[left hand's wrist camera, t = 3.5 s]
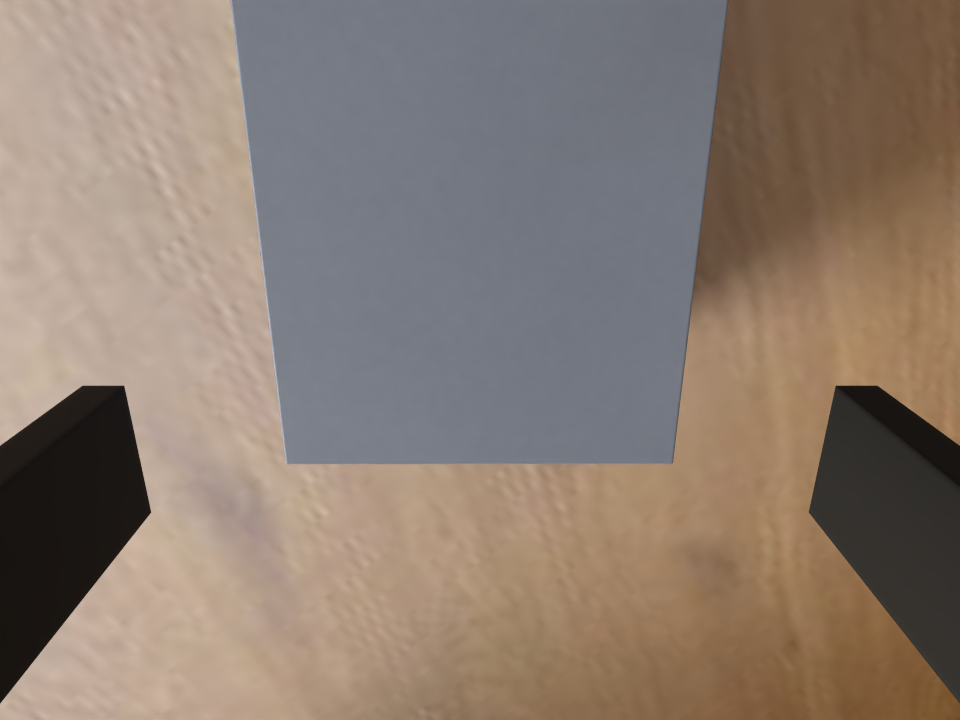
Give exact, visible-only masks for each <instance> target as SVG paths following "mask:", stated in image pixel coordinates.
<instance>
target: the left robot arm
mask: <svg viewBox="0 0 960 720" xmlns="http://www.w3.org/2000/svg"><path fill="white" fill-rule="evenodd" d="M150 513H151V510H150V505H149V500H148V496H147V491H146V486H145V481H144V477H143V472H142V467H141V463H140V458H139V453H138V449H137V444H136V439H135V434H134V430H133V425H132V420H131V416H130V411H129V406H128V402H127V397H126V392H125V388H124V386H82V387H80V388H79V389H78V390H76V391H75V392H73V393H72V394H71V395H69V396H68V397H67V398H65V399H64V400H62V401H61V402H60V403H58V404H57V405H56V406H54V407H53V408H52V409H50V410H49V411H47V412H46V413H45V414H43V415H42V416H41V417H39V418H38V419H36V420H35V421H34V422H32V423H31V424H30V425H28V426H27V427H25V428H24V429H23V430H21V431H20V432H19V433H17V434H16V435H15V436H13V437H12V438H10V439H9V440H8V441H6V442H5V443H4V444H2V445H1V446H0V703H1V702H2V701H3V699H4V698H5V697H6V695H7V694H8V693H9V692H10V690H11V689H12V688H13V687H14V685H15V684H16V683H17V682H18V680H19V679H20V678H21V676H22V675H23V674H24V673H25V671H26V670H27V669H28V668H29V666H30V665H31V664H32V663H33V661H34V660H35V659H36V658H37V656H38V655H39V654H40V652H41V651H42V650H43V649H44V647H45V646H46V645H47V644H48V642H49V641H50V640H51V639H52V637H53V636H54V635H55V633H56V632H57V631H58V630H59V628H60V627H61V626H62V625H63V623H64V622H65V621H66V620H67V618H68V617H69V616H70V614H71V613H72V612H73V611H74V609H75V608H76V607H77V606H78V604H79V603H80V602H81V601H82V599H83V598H84V597H85V595H86V594H87V593H88V592H89V590H90V589H91V588H92V587H93V585H94V584H95V583H96V582H97V580H98V579H99V578H100V576H101V575H102V574H103V573H104V571H105V570H106V569H107V568H108V566H109V565H110V564H111V563H112V561H113V560H114V559H115V557H116V556H117V555H118V554H119V552H120V551H121V550H122V549H123V547H124V546H125V545H126V544H127V542H128V541H129V540H130V538H131V537H132V536H133V535H134V533H135V532H136V531H137V530H138V528H139V527H140V526H141V525H142V523H143V522H144V521H145V519H146V518H147V517H148V516H149V514H150ZM809 513H810V514H811V516H812V517H813V518H814V519H815V521H816V522H817V523H818V525H819V526H820V527H821V528H822V530H823V531H824V532H825V533H826V535H827V536H828V537H829V538H830V540H831V541H832V542H833V544H834V545H835V546H836V547H837V549H838V550H839V551H840V552H841V554H842V555H843V556H844V557H845V559H846V560H847V561H848V563H849V564H850V565H851V566H852V568H853V569H854V570H855V571H856V573H857V574H858V575H859V576H860V578H861V579H862V580H863V582H864V583H865V584H866V585H867V587H868V588H869V589H870V590H871V592H872V593H873V594H874V595H875V597H876V598H877V599H878V601H879V602H880V603H881V604H882V606H883V607H884V608H885V609H886V611H887V612H888V613H889V614H890V616H891V617H892V618H893V620H894V621H895V622H896V623H897V625H898V626H899V627H900V628H901V630H902V631H903V632H904V633H905V635H906V636H907V637H908V639H909V640H910V641H911V642H912V644H913V645H914V646H915V647H916V649H917V650H918V651H919V652H920V654H921V655H922V656H923V658H924V659H925V660H926V661H927V663H928V664H929V665H930V666H931V668H932V669H933V670H934V671H935V673H936V674H937V675H938V676H939V678H940V679H941V680H942V682H943V683H944V684H945V685H946V687H947V688H948V689H949V690H950V692H951V693H952V694H953V695H954V697H955V698H956V699H957V701H958V702H959V703H960V446H959V445H958V444H956V443H955V442H954V441H952V440H951V439H950V438H948V437H947V436H945V435H944V434H943V433H941V432H940V431H939V430H937V429H936V428H935V427H933V426H932V425H930V424H929V423H928V422H926V421H925V420H924V419H922V418H921V417H919V416H918V415H917V414H915V413H914V412H913V411H911V410H910V409H908V408H907V407H906V406H904V405H903V404H902V403H900V402H899V401H898V400H896V399H895V398H893V397H892V396H891V395H889V394H888V393H887V392H885V391H884V390H882V389H881V388H880V387H878V386H836V388H835V392H834V397H833V402H832V406H831V411H830V416H829V420H828V425H827V430H826V434H825V439H824V444H823V449H822V453H821V458H820V463H819V467H818V472H817V477H816V481H815V486H814V491H813V496H812V500H811V505H810V510H809Z"/></svg>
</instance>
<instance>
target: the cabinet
mask: <svg viewBox="0 0 960 720" xmlns="http://www.w3.org/2000/svg"><path fill="white" fill-rule="evenodd" d="M231 8H232V16H233V25H234V33H235V41H236V50H237V58H238V66H239V75H240V83H241V92H242V100H243V108H244V117H245V125H246V133H247V142H248V150H249V158H250V167H251V175H252V184H253V192H254V200H255V209H256V217H257V225H258V234H259V242H260V250H261V259H262V267H263V276H264V284H265V292H266V301H267V309H268V317H269V326H270V334H271V343H272V351H273V359H274V368H275V376H276V384H277V393H278V401H279V409H280V418H281V426H282V435H283V443H284V451H285V460H286V464H672V463H673V457H674V449H675V440H676V432H677V424H678V416H679V407H680V399H681V391H682V382H683V374H684V366H685V357H686V349H687V341H688V332H689V324H690V316H691V307H692V299H693V291H694V282H695V274H696V266H697V257H698V249H699V241H700V232H701V224H702V216H703V207H704V199H705V191H706V183H707V174H708V166H709V158H710V149H711V141H712V133H713V124H714V116H715V108H716V99H717V91H718V83H719V74H720V66H721V58H722V49H723V41H724V33H725V24H726V16H727V8H728V0H231Z"/></svg>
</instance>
